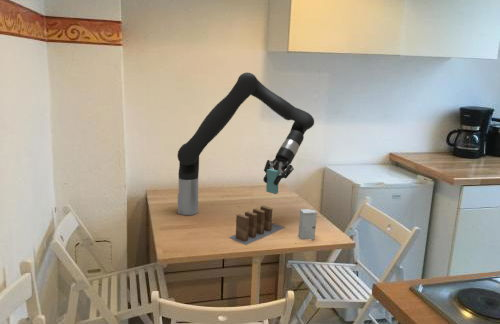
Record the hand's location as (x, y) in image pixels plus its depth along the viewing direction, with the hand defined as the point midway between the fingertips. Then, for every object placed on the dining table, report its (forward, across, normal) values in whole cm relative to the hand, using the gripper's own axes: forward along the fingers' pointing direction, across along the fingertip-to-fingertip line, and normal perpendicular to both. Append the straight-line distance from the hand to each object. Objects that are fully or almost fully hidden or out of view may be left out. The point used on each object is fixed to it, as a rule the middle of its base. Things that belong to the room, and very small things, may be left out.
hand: (269, 182), depth 182 cm
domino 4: (+16, +1, +12) cm, 20 cm away
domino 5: (+2, 0, +5) cm, 5 cm away
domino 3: (+20, +1, +8) cm, 22 cm away
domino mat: (+20, +1, +9) cm, 22 cm away
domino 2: (+23, +1, +5) cm, 24 cm away
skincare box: (+13, +18, +17) cm, 28 cm away
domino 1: (+27, +1, +1) cm, 27 cm away
